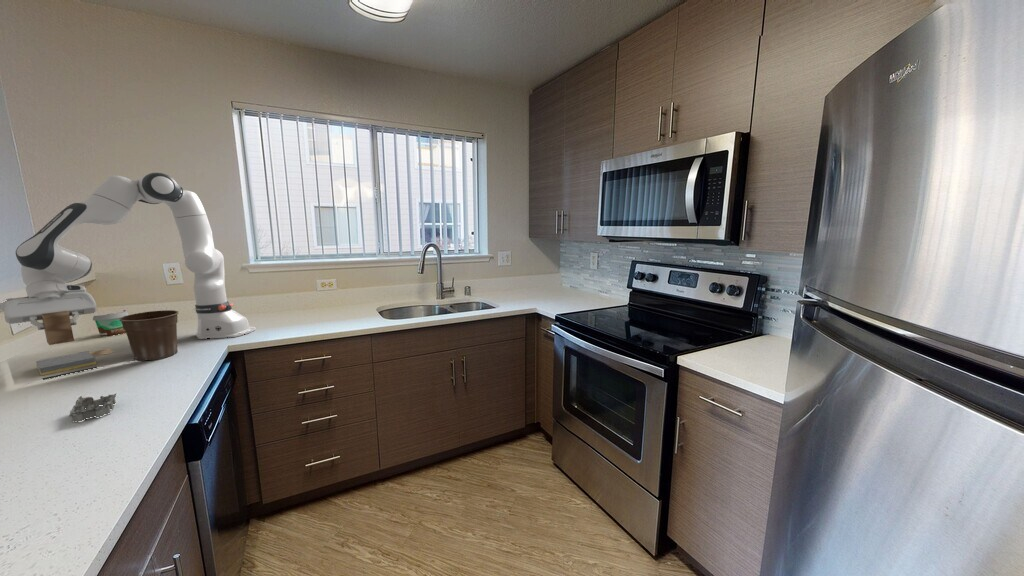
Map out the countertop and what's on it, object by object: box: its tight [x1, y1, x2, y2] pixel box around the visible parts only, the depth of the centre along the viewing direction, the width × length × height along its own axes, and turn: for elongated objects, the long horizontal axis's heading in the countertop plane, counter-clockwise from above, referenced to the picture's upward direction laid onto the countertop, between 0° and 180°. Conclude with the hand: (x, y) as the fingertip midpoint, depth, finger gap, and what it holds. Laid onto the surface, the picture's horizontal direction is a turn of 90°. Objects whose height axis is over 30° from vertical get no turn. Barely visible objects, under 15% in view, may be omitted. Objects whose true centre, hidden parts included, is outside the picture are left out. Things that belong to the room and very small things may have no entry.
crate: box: [41, 311, 75, 346], centre depth 128 cm, size 6×6×10 cm
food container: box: [92, 309, 130, 337], centre depth 174 cm, size 12×6×10 cm, turn 168°
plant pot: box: [119, 309, 180, 362], centre depth 143 cm, size 16×16×16 cm
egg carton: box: [68, 393, 117, 423], centre depth 100 cm, size 11×8×4 cm
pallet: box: [89, 348, 115, 357], centre depth 144 cm, size 8×8×2 cm
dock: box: [35, 350, 97, 381], centre depth 130 cm, size 12×12×4 cm
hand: (57, 326), depth 128 cm, fingers closed on crate, 5 cm apart
